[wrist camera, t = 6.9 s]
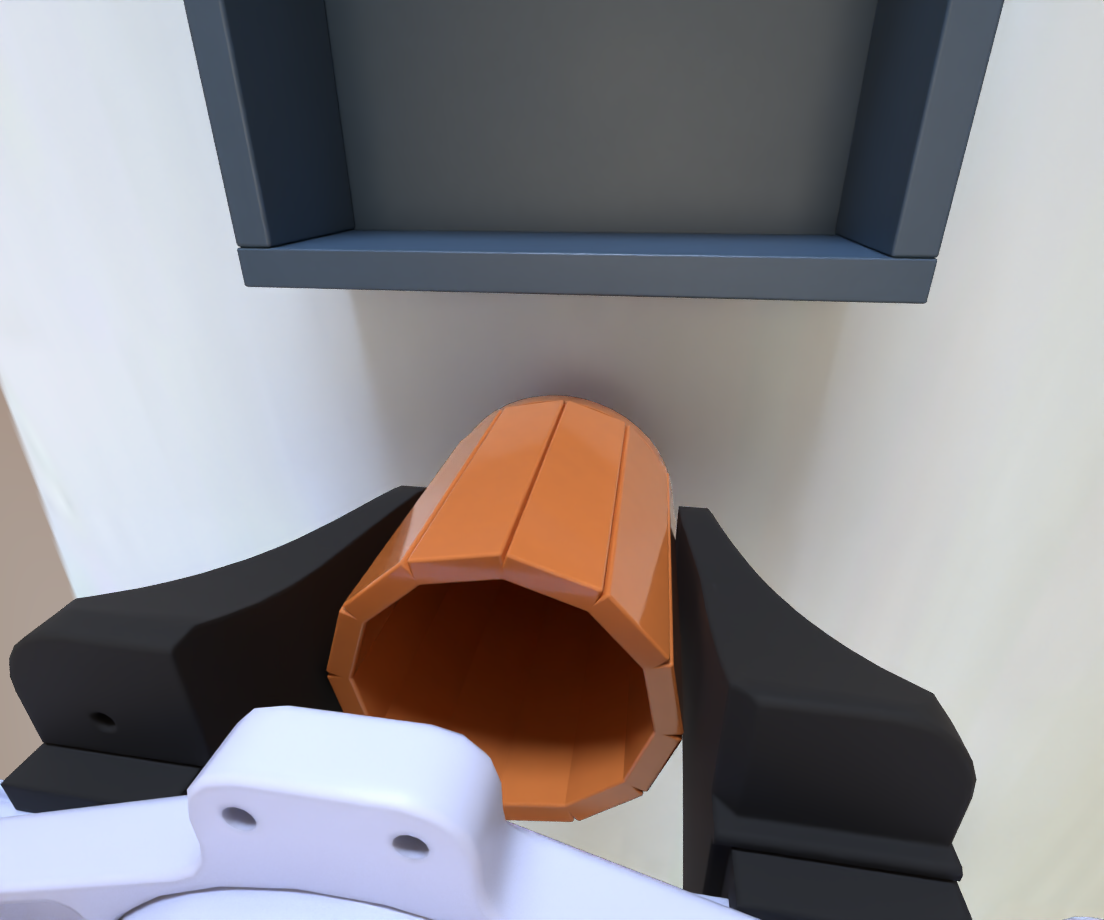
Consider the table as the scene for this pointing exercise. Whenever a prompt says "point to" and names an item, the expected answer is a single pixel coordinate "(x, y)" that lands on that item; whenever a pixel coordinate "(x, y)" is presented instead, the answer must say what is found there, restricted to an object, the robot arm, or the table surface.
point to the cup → (531, 609)
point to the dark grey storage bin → (593, 143)
